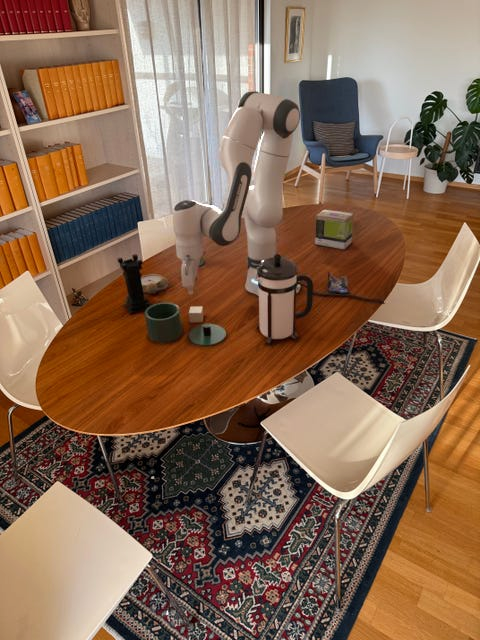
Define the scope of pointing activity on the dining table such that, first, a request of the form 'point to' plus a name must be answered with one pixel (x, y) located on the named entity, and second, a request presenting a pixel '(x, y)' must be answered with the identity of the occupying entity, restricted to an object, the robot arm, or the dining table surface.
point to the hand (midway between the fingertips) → (192, 286)
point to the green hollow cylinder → (163, 322)
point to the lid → (207, 335)
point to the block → (196, 314)
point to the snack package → (337, 284)
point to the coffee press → (280, 297)
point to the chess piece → (134, 285)
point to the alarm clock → (153, 283)
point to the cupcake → (202, 257)
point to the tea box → (334, 229)
